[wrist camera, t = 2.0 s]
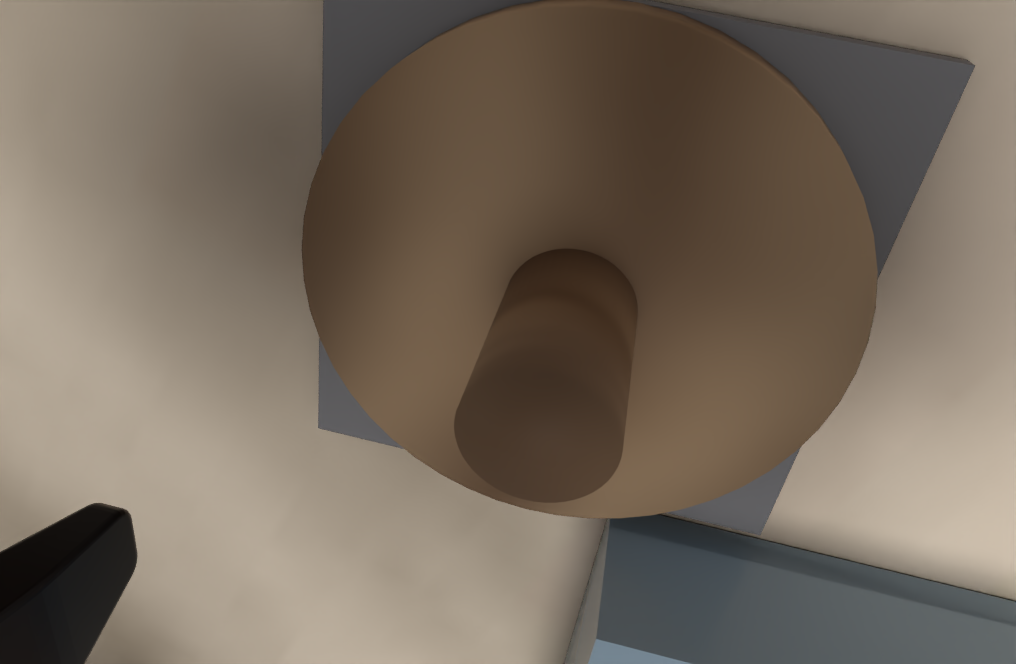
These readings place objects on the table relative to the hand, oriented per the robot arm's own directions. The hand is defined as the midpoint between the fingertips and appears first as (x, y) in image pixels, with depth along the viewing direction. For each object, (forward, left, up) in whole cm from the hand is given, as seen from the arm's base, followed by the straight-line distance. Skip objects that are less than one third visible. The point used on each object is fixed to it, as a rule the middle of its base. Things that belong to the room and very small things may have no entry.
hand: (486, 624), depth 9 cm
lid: (0, 0, -8) cm, 8 cm away
